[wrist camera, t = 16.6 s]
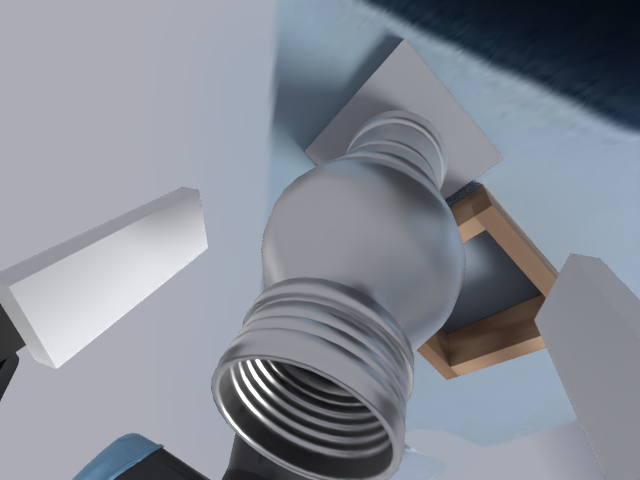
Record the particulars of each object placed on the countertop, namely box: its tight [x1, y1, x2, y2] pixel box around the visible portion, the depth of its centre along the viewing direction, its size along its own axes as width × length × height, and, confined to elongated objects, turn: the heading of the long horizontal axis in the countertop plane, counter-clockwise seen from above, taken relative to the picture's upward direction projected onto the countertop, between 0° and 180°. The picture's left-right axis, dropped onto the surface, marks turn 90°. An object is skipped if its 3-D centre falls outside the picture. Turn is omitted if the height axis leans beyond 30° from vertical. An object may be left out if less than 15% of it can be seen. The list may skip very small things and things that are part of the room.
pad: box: [304, 39, 504, 200], centre depth 22 cm, size 10×10×1 cm
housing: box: [417, 185, 559, 380], centre depth 27 cm, size 23×12×4 cm, turn 138°
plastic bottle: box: [211, 110, 466, 480], centre depth 14 cm, size 6×7×20 cm
